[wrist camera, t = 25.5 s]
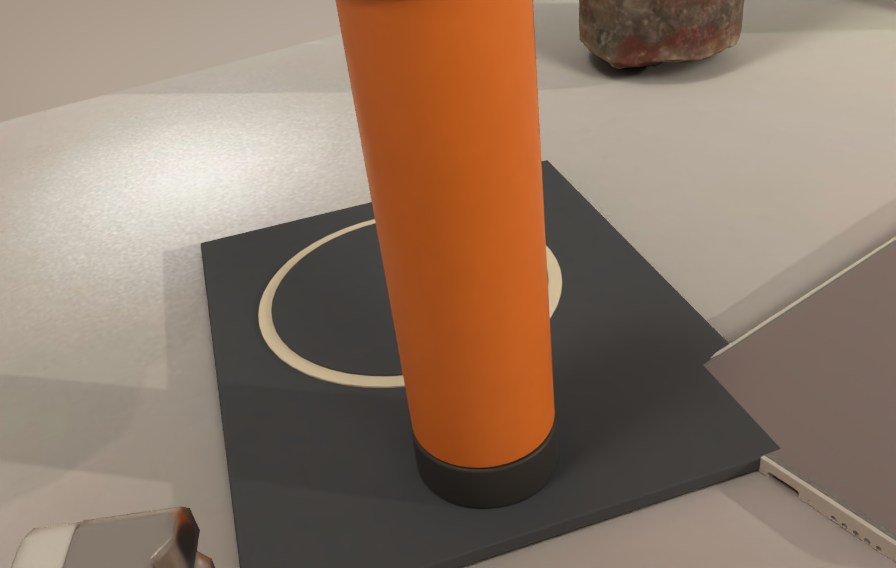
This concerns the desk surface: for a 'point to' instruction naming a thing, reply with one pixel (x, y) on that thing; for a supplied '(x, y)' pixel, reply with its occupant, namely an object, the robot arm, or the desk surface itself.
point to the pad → (387, 412)
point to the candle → (658, 29)
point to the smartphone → (829, 395)
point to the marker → (461, 233)
